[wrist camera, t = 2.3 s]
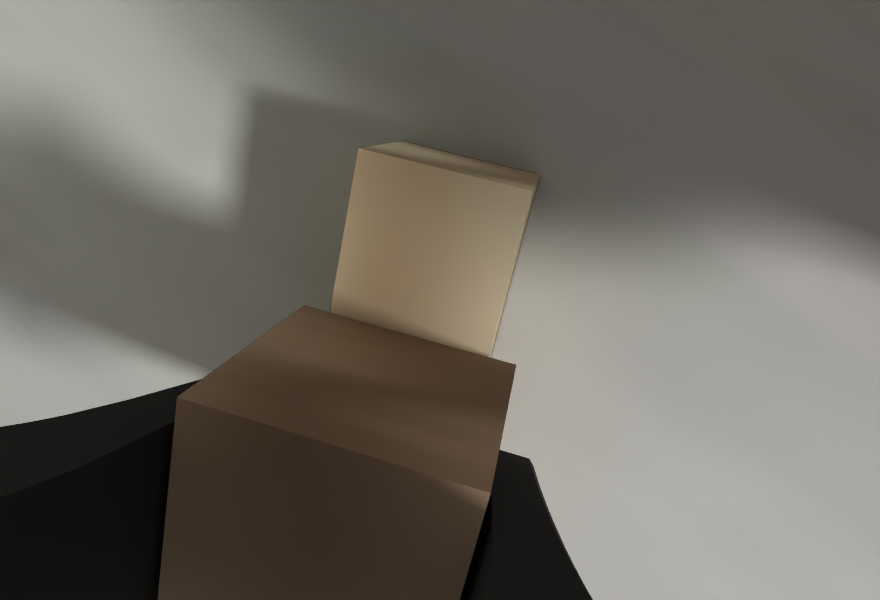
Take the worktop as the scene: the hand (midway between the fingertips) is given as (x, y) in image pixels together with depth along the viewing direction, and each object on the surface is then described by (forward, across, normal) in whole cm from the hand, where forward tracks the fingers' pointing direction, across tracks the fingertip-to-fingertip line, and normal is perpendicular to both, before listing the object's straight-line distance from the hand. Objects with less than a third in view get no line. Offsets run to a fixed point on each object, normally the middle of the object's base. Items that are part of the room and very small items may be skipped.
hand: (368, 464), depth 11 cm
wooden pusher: (+4, 0, 0) cm, 4 cm away
